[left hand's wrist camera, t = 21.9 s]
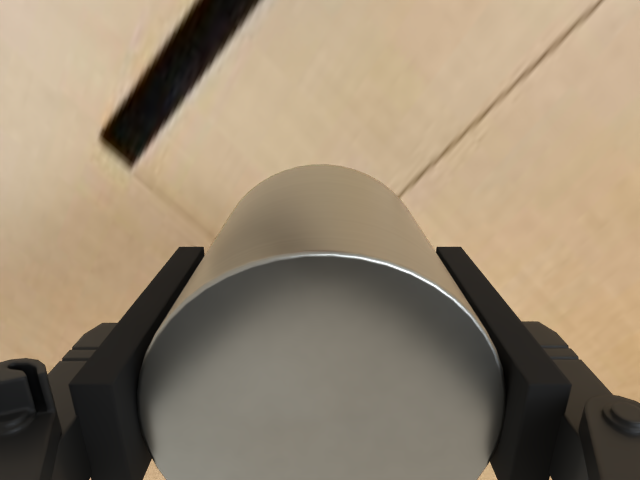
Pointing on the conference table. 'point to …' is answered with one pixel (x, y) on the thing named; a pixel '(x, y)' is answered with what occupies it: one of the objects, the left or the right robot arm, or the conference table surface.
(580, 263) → the conference table surface
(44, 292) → the conference table surface
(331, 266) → the can
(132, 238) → the conference table surface
